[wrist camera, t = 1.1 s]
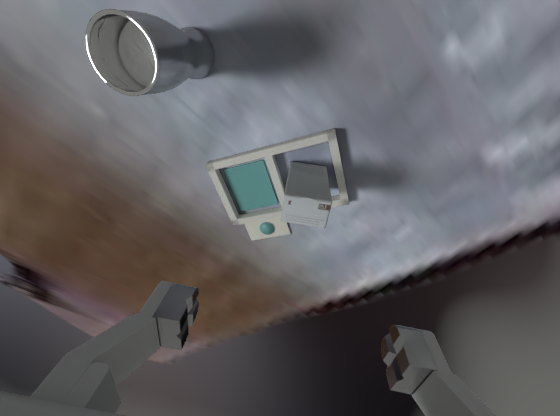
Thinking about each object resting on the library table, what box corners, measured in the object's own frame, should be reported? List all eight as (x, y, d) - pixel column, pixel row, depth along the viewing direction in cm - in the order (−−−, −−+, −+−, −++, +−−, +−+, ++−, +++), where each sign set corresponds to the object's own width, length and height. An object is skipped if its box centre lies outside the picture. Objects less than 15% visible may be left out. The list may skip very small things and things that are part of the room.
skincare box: (287, 183, 44) (277, 224, 33) (290, 158, 41) (281, 194, 31) (323, 189, 43) (325, 232, 33) (328, 164, 41) (332, 202, 31)
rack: (334, 128, 38) (335, 130, 37) (352, 222, 46) (353, 227, 45) (208, 161, 43) (205, 164, 42) (244, 240, 51) (242, 245, 50)
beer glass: (227, 65, 35) (176, 73, 23) (189, 91, 38) (124, 112, 25) (196, 10, 32) (118, -16, 20) (157, 42, 35) (66, 37, 22)
